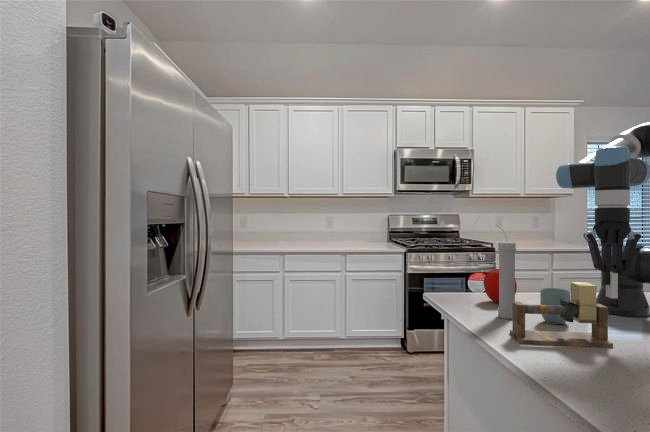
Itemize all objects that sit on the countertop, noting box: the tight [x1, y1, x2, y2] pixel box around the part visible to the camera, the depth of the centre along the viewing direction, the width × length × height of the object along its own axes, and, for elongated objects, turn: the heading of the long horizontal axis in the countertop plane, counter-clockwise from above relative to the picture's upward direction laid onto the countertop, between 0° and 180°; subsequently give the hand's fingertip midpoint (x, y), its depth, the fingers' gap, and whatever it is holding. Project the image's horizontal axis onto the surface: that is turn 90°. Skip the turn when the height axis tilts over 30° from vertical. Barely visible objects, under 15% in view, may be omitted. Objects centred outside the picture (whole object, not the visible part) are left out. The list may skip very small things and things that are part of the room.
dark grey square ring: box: [560, 299, 574, 323], centre depth 108 cm, size 1×5×5 cm, turn 171°
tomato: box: [483, 267, 518, 304], centre depth 153 cm, size 12×12×13 cm
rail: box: [509, 301, 614, 348], centre depth 108 cm, size 22×9×10 cm, turn 81°
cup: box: [539, 287, 570, 325], centre depth 125 cm, size 8×8×10 cm
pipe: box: [495, 224, 517, 320], centre depth 132 cm, size 6×6×30 cm
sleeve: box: [569, 281, 597, 324], centre depth 107 cm, size 4×5×10 cm
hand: (611, 297), depth 106 cm, fingers closed
